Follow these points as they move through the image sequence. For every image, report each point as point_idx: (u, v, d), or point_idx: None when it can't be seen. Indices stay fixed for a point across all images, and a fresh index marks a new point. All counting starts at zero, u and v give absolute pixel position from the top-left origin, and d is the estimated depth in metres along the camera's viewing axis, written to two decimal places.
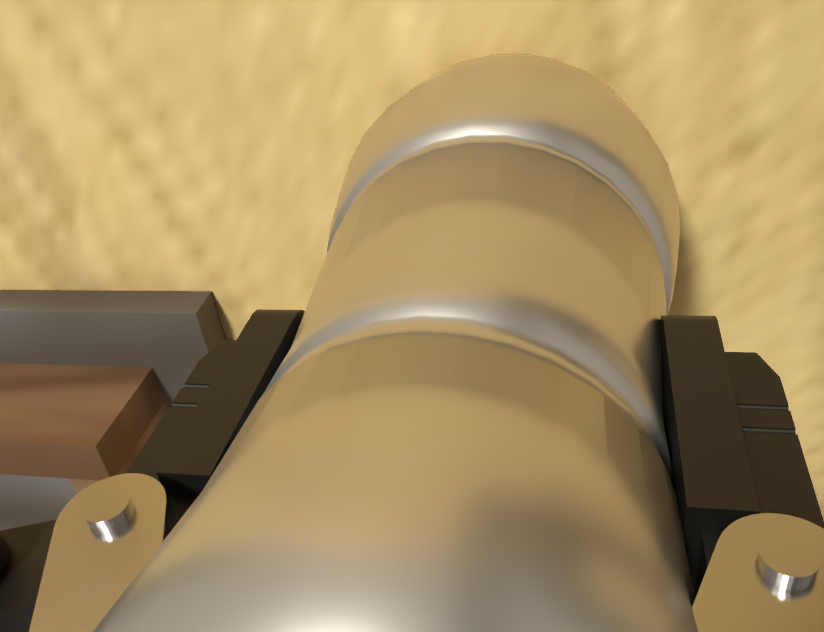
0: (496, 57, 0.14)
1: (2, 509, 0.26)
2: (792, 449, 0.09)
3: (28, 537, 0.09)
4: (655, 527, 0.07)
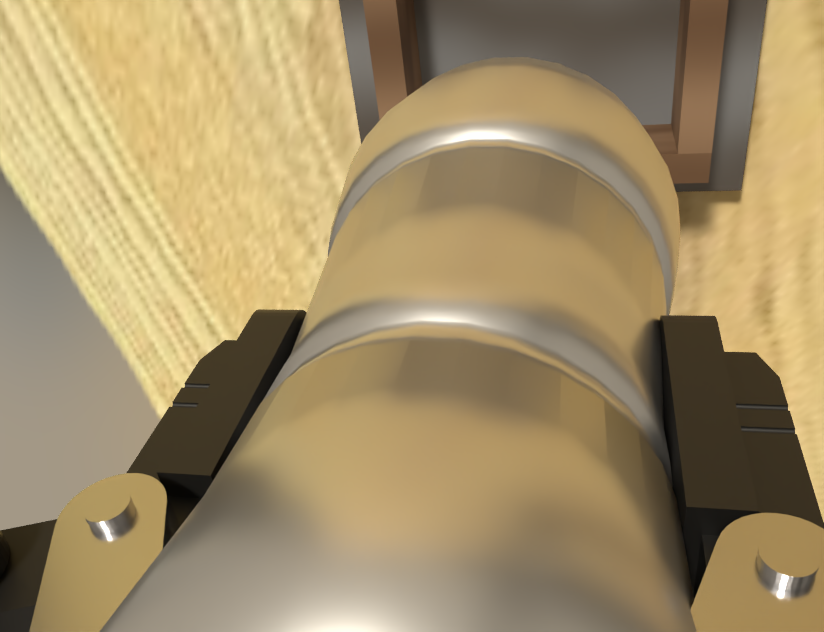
0: (497, 60, 0.14)
1: (505, 10, 0.30)
2: (792, 449, 0.09)
3: (29, 538, 0.09)
4: (656, 532, 0.07)
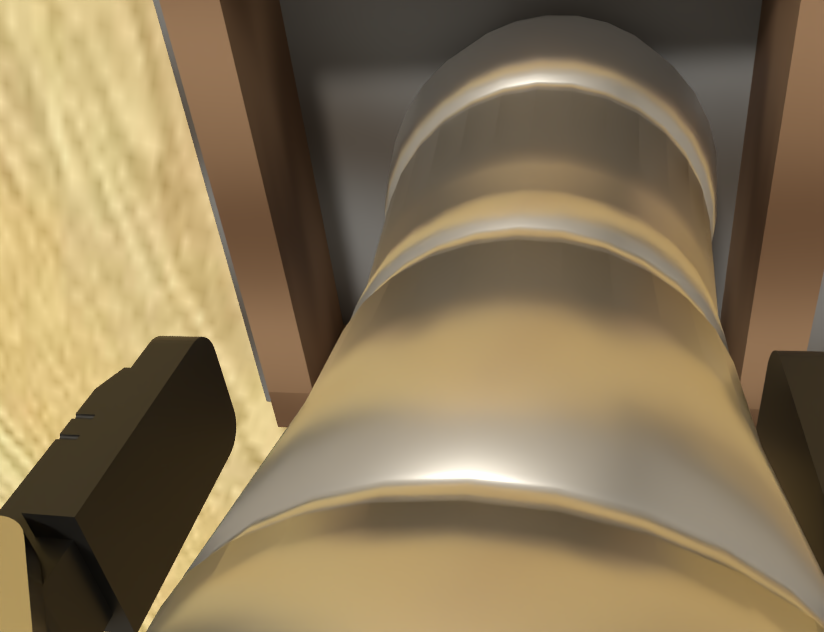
0: (551, 17, 0.15)
1: None
2: None
3: None
4: (741, 407, 0.08)
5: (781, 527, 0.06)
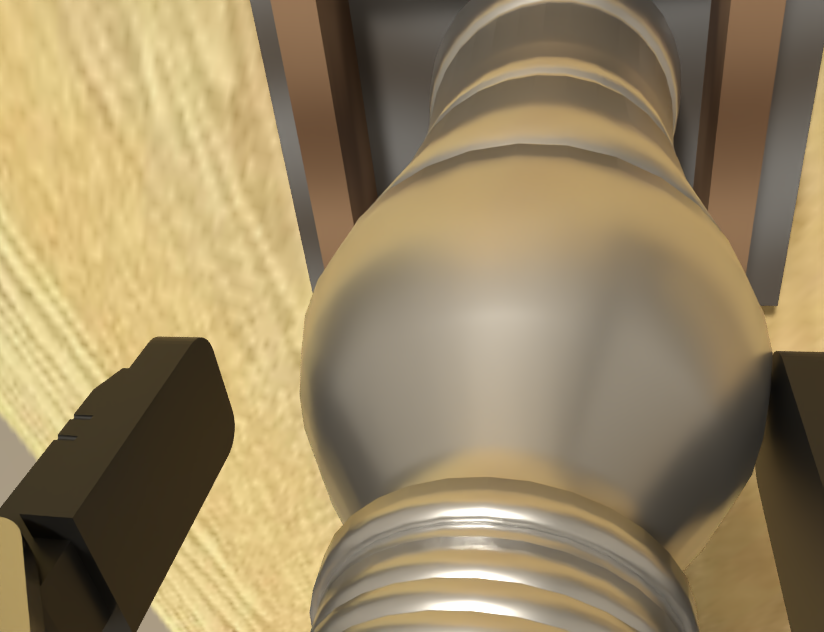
0: None
1: None
2: None
3: None
4: (679, 168, 0.13)
5: (690, 190, 0.11)
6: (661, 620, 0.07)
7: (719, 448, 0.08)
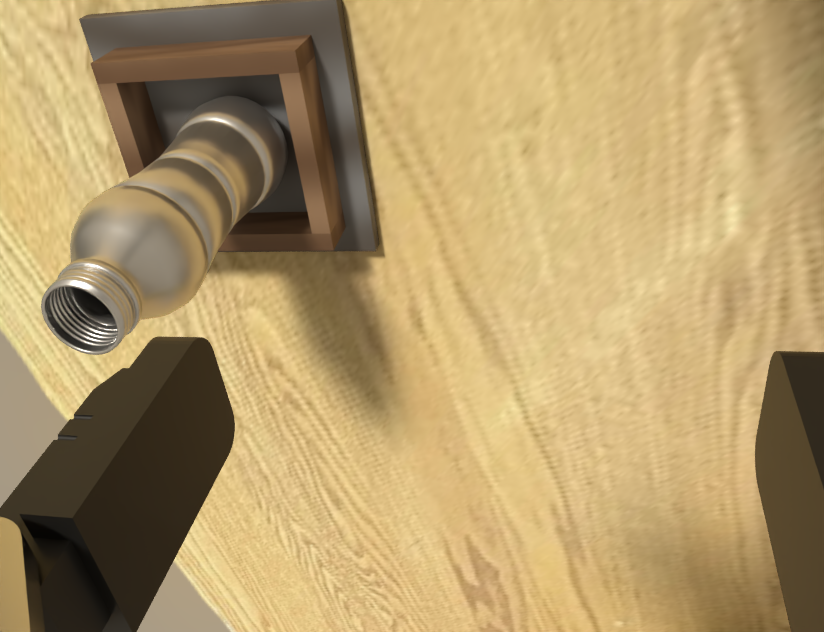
0: (226, 97, 0.46)
1: None
2: None
3: None
4: (207, 190, 0.39)
5: (185, 197, 0.37)
6: (115, 284, 0.33)
7: (159, 260, 0.35)
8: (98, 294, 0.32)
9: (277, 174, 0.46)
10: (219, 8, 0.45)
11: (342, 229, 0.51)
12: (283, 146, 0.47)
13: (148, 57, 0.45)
